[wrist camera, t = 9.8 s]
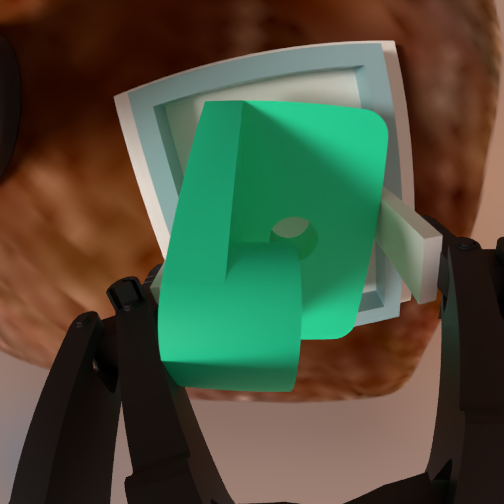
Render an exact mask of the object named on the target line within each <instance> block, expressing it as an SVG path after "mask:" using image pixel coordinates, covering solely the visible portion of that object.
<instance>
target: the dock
mask: <svg viewBox="0 0 504 504" xmlns="http://www.w3.org/2000/svg"><path fill="white" fill-rule="evenodd" d="M113 97H114V101H115V105H116V109H117V113H118V116H119V120H120V124H121V128H122V131H123V135H124V138H125V142H126V145H127V149H128V152H129V156H130V159H131V162H132V166H133V169H134V172H135V175H136V179H137V182H138V185H139V188H140V191H141V194H142V197H143V200H144V203H145V206H146V209H147V212H148V215H149V218H150V221H151V224H152V227H153V229H154V232H155V235H156V238H157V241H158V243H159V246H160V249H161V251H162V254H163V257H164V259H166V255H167V250H168V245H169V240H170V235H171V231H172V226H173V221H174V217H175V212H176V208H177V204H178V199H179V195H180V191H181V187H182V183H183V178H184V174H185V170H186V167H187V163H188V159H189V155H190V151H191V148H192V144H193V140H194V137H195V133H196V130H197V126H198V123H199V119H200V116H201V112H202V109H203V106H204V102H205V101H226V100H255V101H285V102H302V103H315V104H326V105H335V106H344V107H352V108H360V109H367V110H371V111H373V112H375V113H377V114H378V115H379V116H380V117H381V118H382V119H383V120H384V122H385V124H386V126H387V129H388V145H387V155H386V164H385V172H384V180H383V186H384V187H385V188H386V189H388V190H389V191H390V192H391V193H393V194H394V195H395V196H397V197H398V198H399V199H400V200H402V201H403V202H404V203H405V204H407V205H408V206H409V207H410V208H411V209H413V210H414V211H415V207H414V177H413V161H412V148H411V138H410V129H409V120H408V113H407V105H406V99H405V93H404V87H403V81H402V75H401V70H400V65H399V60H398V56H397V51H396V47H395V43H394V41H351V42H335V43H323V44H313V45H304V46H296V47H289V48H282V49H276V50H270V51H264V52H259V53H254V54H249V55H244V56H239V57H235V58H230V59H226V60H222V61H218V62H214V63H210V64H206V65H203V66H199V67H196V68H192V69H189V70H185V71H182V72H179V73H176V74H173V75H169V76H166V77H163V78H160V79H158V80H155V81H152V82H149V83H146V84H144V85H141V86H138V87H136V88H133V89H131V90H128V91H126V92H123V93H121V94H118V95H116V96H113ZM308 224H309V221H308V220H306V219H304V218H300V217H288V218H285V219H283V220H281V221H279V222H278V223H277V224H276V225H275V226H274V227H273V229H272V230H273V231H274V232H275V233H276V234H277V235H279V236H281V237H285V238H292V237H296V236H298V235H300V234H302V233H303V232H304V231H305V230H306V228H307V227H308ZM409 300H411V291H410V290H409V288H408V287H407V285H406V284H405V282H404V281H403V279H402V278H401V276H400V275H399V273H398V272H397V270H396V269H395V267H394V266H393V265H392V263H391V262H390V260H389V259H388V257H387V256H386V255H385V253H384V252H383V250H382V249H381V248H380V246H379V245H378V243H377V242H376V241H375V239H374V242H373V247H372V252H371V257H370V262H369V267H368V271H367V276H366V280H365V285H364V289H363V293H362V297H361V301H360V305H359V309H358V313H357V317H356V321H355V324H354V326H358V325H363V324H368V323H372V322H377V321H381V320H385V319H390V318H394V317H398V316H399V311H400V303H401V302H405V301H409Z"/></svg>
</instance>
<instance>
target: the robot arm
mask: <svg viewBox="0 0 504 504" xmlns="http://www.w3.org/2000/svg"><path fill="white" fill-rule="evenodd" d="M20 106H21V85H20V75H19V69H18V64H17V60H16V57H15V54H14V52H13V50H12V48H11V46H10V44H9V43H8V42H7V40H6V39H4V38H3V37H2V36H0V178H1V176H2V175H3V173H4V171H5V169H6V167H7V165H8V162H9V160H10V157H11V155H12V151H13V148H14V144H15V141H16V136H17V131H18V125H19V117H20ZM374 239H375V241H376V242H377V243H378V245H379V246H380V248H381V249H382V250H383V252H384V253H385V255H386V256H387V257H388V259H389V260H390V262H391V263H392V265H393V266H394V267H395V269H396V270H397V272H398V273H399V275H400V276H401V278H402V279H403V281H404V282H405V284H406V285H407V287H408V288H409V290H410V291H411V293H412V294H413V296H414V298H415V299H416V301H417V302H418V304H423V303H427V302H431V301H435V300H436V295H437V288H439V289H440V291H441V292H442V293H443V294H442V300H441V306H440V312H439V317H438V319H441V321H442V343H441V371H440V385H439V386H440V387H439V398H438V407H437V416H436V423H435V430H434V436H433V443H432V448H431V453H430V458H429V462H428V465H427V468H426V470H425V473H422V474H419V475H416V476H413V477H410V478H407V479H404V480H400V481H397V482H393V483H390V484H386V485H383V486H381V487H379V488H377V489H375V490H373V491H371V492H369V493H367V494H364V495H362V496H360V497H358V498H356V499H353V500H351V501H349V502H346V503H344V504H504V237H500V238H499V239H498V240H497V246H496V249H481V246H480V244H479V243H478V242H476V241H475V240H473V239H470V238H466V237H456V236H454V235H453V234H452V233H451V232H450V231H449V230H447V229H445V227H444V226H443V225H441V224H440V223H439V222H438V221H437V220H435V219H434V218H431V217H429V216H426V215H424V216H420V215H419V214H417V213H416V212H415V211H414V210H413V209H411V208H410V207H409V206H408V205H407V204H405V203H404V202H403V201H402V200H400V199H399V198H398V197H397V196H395V195H394V194H393V193H391V192H390V191H389V190H388V189H386V188H385V187H384V186H383V187H382V194H381V201H380V207H379V214H378V220H377V225H376V231H375V236H374ZM165 260H166V259H165ZM164 266H165V261H164V263H163V264H158V265H157V266H156V267H154V268H153V269H152V270H151V271H150V273H149V274H148V276H147V278H146V279H145V281H144V284H143V285H142V286H141V284H140V281H139V279H138V278H137V277H134V276H132V277H126V278H123V279H120V280H118V281H116V282H115V283H113V284H112V285H111V286H110V287H109V288H108V289H107V292H106V294H107V296H108V298H109V300H110V302H111V304H112V305H113V307H114V309H115V311H116V315H115V316H112V317H109V318H106V319H103V320H101V319H100V317H99V315H98V314H97V312H94V311H90V312H86V313H82V314H81V315H79V316H77V318H76V319H75V320H74V321H73V322H72V324H71V325H70V327H69V329H68V332H67V334H66V336H65V338H64V340H63V342H62V345H61V347H60V349H59V351H58V354H57V356H56V358H55V360H54V363H53V365H52V368H51V370H50V372H49V375H48V377H47V380H46V382H45V385H44V387H43V390H42V393H41V395H40V398H39V401H38V404H37V406H36V409H35V412H34V415H33V418H32V421H31V424H30V427H29V430H28V433H27V436H26V439H25V443H24V446H23V449H22V453H21V456H20V460H19V464H18V468H17V472H16V476H15V480H14V484H13V489H12V493H11V499H10V502H9V504H110V497H111V483H112V472H113V462H114V452H115V442H116V436H117V428H118V421H119V414H120V408H121V401H122V407H123V415H124V422H125V429H126V435H127V441H128V447H129V452H130V458H131V463H132V467H133V473H132V475H131V476H128V477H126V479H125V482H124V484H125V492H126V497H127V502H128V504H235V503H234V501H233V500H232V498H231V497H230V495H229V493H228V492H227V490H226V488H225V485H224V483H223V481H222V479H221V477H220V475H219V472H218V470H217V468H216V465H215V463H214V461H213V459H212V456H211V454H210V451H209V449H208V447H207V444H206V442H205V440H204V437H203V435H202V432H201V430H200V427H199V424H198V422H197V419H196V416H195V414H194V411H193V409H192V406H191V403H190V400H189V398H188V395H187V392H186V389H185V387H183V386H179V385H177V384H176V382H175V381H174V380H173V378H172V377H171V375H170V374H169V372H168V371H167V369H166V367H165V366H164V364H163V362H162V361H161V356H160V350H159V339H158V307H159V296H160V288H161V282H162V276H163V271H164ZM93 365H94V367H95V369H94V368H93ZM251 504H298V503H289V502H275V503H251Z"/></svg>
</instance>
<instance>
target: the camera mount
mask: <svg viewBox="0 0 504 504" xmlns="http://www.w3.org/2000/svg"><path fill="white" fill-rule="evenodd" d="M387 145H388V129H387V126H386V124H385V122H384V120H383V119H382V118H381V117H380V116H379V115H378V114H377V113H375V112H373V111H371V110H367V109H360V108H352V107H344V106H335V105H326V104H315V103H302V102H285V101H255V100H226V101H205V102H204V106H203V109H202V112H201V116H200V119H199V123H198V126H197V130H196V133H195V137H194V140H193V144H192V148H191V151H190V155H189V159H188V163H187V167H186V170H185V174H184V178H183V183H182V187H181V191H180V195H179V199H178V204H177V208H176V212H175V217H174V221H173V226H172V231H171V235H170V240H169V245H168V250H167V255H166V260H165V266H164V271H163V276H162V282H161V288H160V296H159V307H158V339H159V350H160V356H161V361H162V362H163V364H164V366H165V367H166V369H167V371H168V372H169V374H170V375H171V377H172V378H173V380H174V381H175V382H176V384H177V385H179V386H183V387H193V388H205V389H218V390H235V391H264V392H291V391H292V389H293V387H294V384H295V380H296V375H297V369H298V362H299V353H300V341H301V339H337V338H340V337H343V336H345V335H346V334H348V333H349V332H350V331H351V330H352V329H353V327H354V324H355V321H356V317H357V313H358V309H359V305H360V301H361V297H362V293H363V289H364V285H365V280H366V276H367V271H368V267H369V262H370V257H371V252H372V247H373V242H374V236H375V231H376V225H377V220H378V214H379V207H380V201H381V194H382V187H383V180H384V172H385V164H386V155H387ZM288 217H300V218H304V219H306V220H308V221H309V224H308V227H307V228H306V230H305V231H304V232H303V233H302V234H300V235H298V236H296V237H292V238H285V237H281V236H279V235H277V234H276V233H275V232H274V231H273V230H272V229H273V227H274V226H275V225H276V224H277V223H278V222H279V221H281V220H283V219H285V218H288Z"/></svg>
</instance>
